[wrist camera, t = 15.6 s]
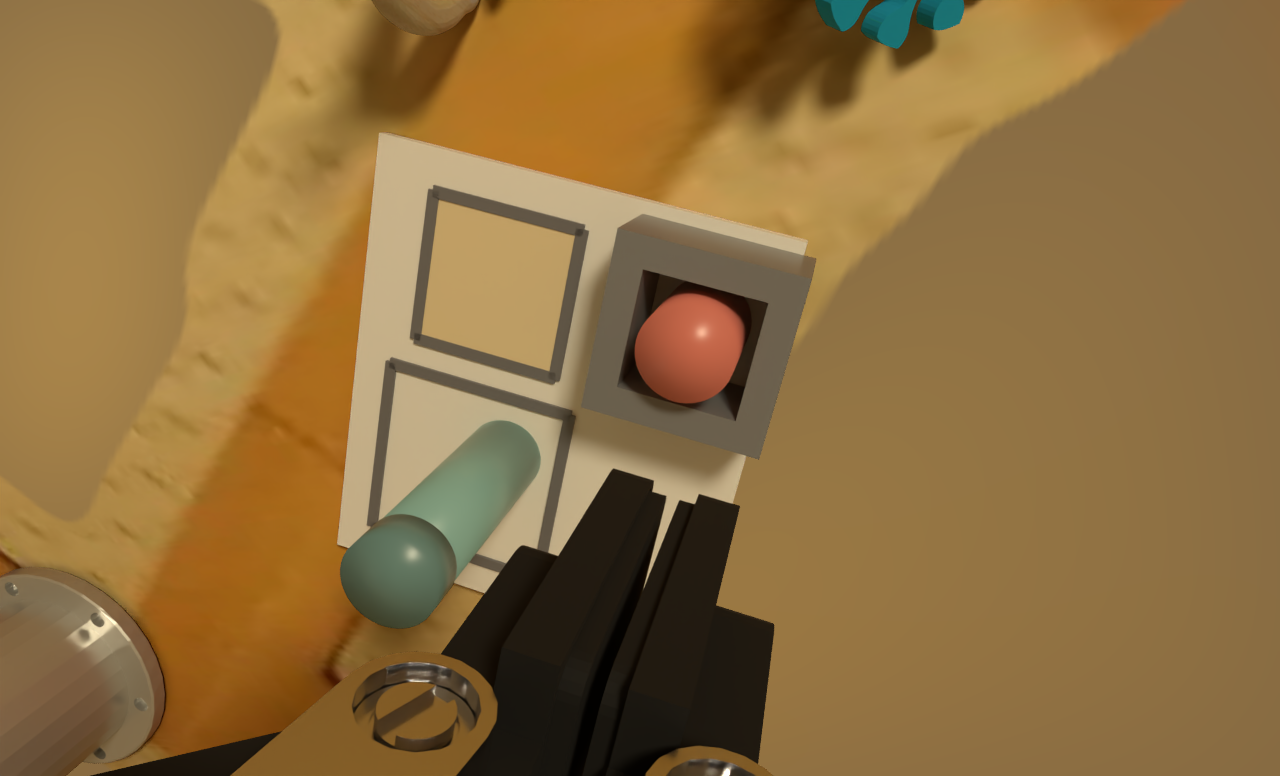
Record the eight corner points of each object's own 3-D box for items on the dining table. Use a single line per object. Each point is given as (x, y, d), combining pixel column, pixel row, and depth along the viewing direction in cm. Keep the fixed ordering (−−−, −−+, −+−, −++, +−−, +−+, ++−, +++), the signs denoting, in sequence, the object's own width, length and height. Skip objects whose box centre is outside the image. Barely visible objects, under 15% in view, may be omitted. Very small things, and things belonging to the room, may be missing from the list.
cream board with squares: (343, 538, 44) (335, 545, 43) (386, 132, 36) (377, 132, 36) (689, 652, 41) (686, 662, 40) (808, 240, 34) (807, 243, 33)
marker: (464, 479, 40) (336, 611, 30) (473, 410, 39) (343, 523, 29) (535, 499, 40) (431, 640, 30) (547, 430, 38) (442, 552, 28)
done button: (654, 349, 36) (625, 387, 31) (674, 266, 35) (646, 292, 30) (738, 373, 36) (721, 415, 31) (761, 289, 34) (747, 320, 30)
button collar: (607, 375, 37) (580, 407, 33) (642, 213, 35) (617, 228, 31) (768, 422, 36) (758, 459, 32) (816, 258, 34) (811, 279, 30)
